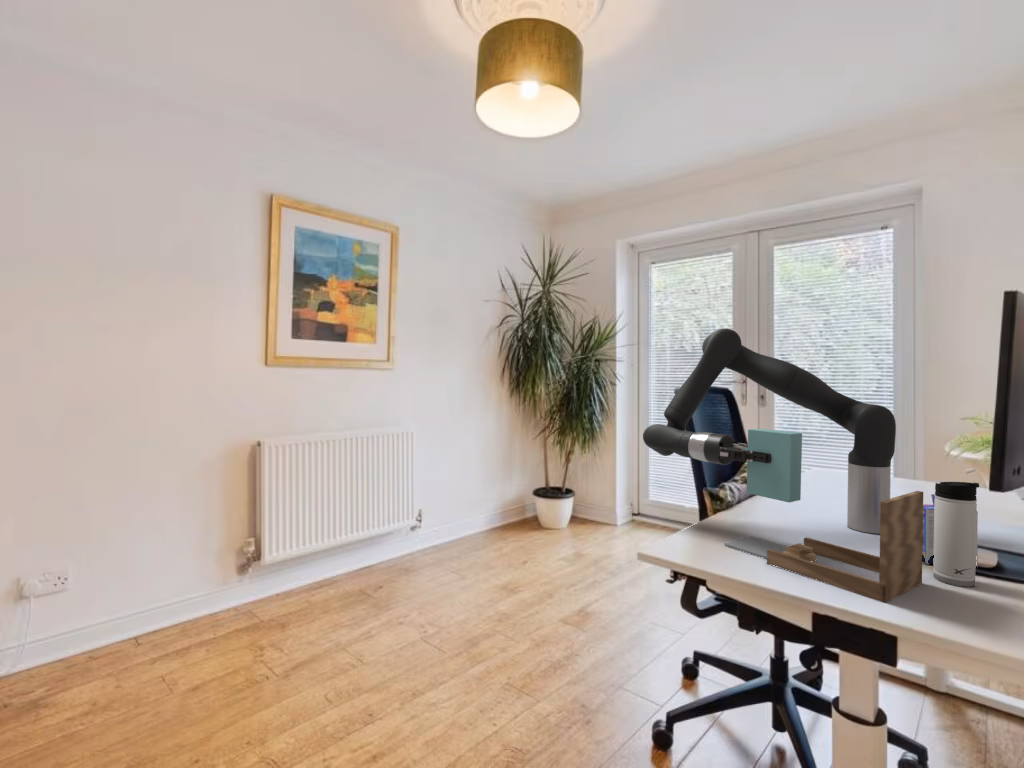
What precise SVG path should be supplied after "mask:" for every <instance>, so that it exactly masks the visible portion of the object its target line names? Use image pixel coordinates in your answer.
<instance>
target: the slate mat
mask: <svg viewBox="0 0 1024 768" xmlns="http://www.w3.org/2000/svg"><path fill="white" fill-rule="evenodd" d="M724 545H725V546H724V547H727V546H728V547H727V548H730V547H731V549H733V548H734V550H736V549H737V551H740V550H741V551H740V552H743V551H744V553H746V552H747V553H746V554H749V553H750V554H749V555H752V554H754V555H753V556H755V555H757V556H756V557H758V556H760V557H759V558H761V557H763V558H762V559H764V558H766V559H765V560H767V550H768V549H771V550H775V551H778V552H781V553H783V552H784V551H785V547H786V546H787V545H784V544H782V543H781V544H780V543H777V542H774V541H770V540H767V539H763V538H761V537H758V536H753V535H750V536H746V537H743V538H740V539H739V538H738V539H736V540H735V539H734V540H732V541H729V542H725V543H724Z"/></svg>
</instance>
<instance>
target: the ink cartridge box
mask: <svg viewBox="0 0 1024 768" xmlns="http://www.w3.org/2000/svg"><path fill="white" fill-rule="evenodd" d="M930 496H931V499H932V504H924V503H923V548H922V555H923V556H924V558H925V562H926V563H928V560H929V559H930V557H931V556H933V555H934V499H935V493H934V494H933V493H932V494H930ZM978 514H979V513H978V511H977V513H976V556H977V557H978V526H979V525H978V524H979V523H978V517H979V516H978Z"/></svg>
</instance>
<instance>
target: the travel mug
mask: <svg viewBox="0 0 1024 768" xmlns="http://www.w3.org/2000/svg"><path fill="white" fill-rule="evenodd" d="M934 484H935V487H934V490H935V491H934V495H935V499H934V558H933V567H932V568H933V571H932V573H933V574H932V576H933V578H935V579H936V580H938V581H939V582H942V583H944V584H948V585H951V586H954V587H955V586H956V587H962V588H970V587H974V586H975V585H976V569H977V568H976V513H977V512H978V511H977V505H978V504H977V490H978V489H977V488H980V483H979V482H967V481H940V482H939V483H937V482H935V483H934Z"/></svg>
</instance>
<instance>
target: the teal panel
mask: <svg viewBox="0 0 1024 768" xmlns="http://www.w3.org/2000/svg"><path fill="white" fill-rule="evenodd" d="M747 445H748V450H752V451H754V452H755V451H756V452H763V453H770V454H771V463H762V462H756V461H753V462H750V461H747V462H746V463H747V464H746V465H747V466H746V467H747V468H746V494H749V495H753V496H759V497H763V498H766V499H767V498H768V499H770V500H771V499H772V500H776V501H781V502H784V503H794V502H799V501H801V499H802V498H801V494H802V493H801V491H802V459H803V458H802V456H803V455H802V453H803V452H802V451H803V448H802V447H803V433H802V432H794V431H793V432H792V431H785V430H776V429H767V428H752V429H751V428H750V429H747Z"/></svg>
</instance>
